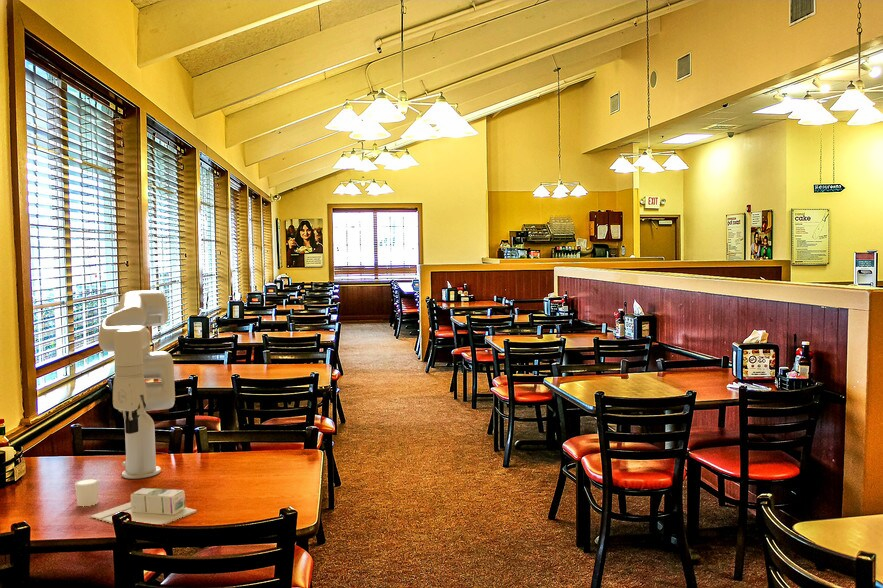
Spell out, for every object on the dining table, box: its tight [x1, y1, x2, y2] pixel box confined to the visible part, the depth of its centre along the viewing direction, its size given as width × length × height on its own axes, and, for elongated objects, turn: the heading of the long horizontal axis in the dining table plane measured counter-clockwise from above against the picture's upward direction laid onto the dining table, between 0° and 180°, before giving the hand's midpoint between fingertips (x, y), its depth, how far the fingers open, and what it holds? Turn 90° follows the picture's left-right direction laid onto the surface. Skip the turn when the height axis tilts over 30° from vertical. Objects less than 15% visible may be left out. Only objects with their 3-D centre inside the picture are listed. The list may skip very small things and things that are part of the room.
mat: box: [90, 501, 197, 525], centre depth 210 cm, size 24×18×1 cm
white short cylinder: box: [74, 478, 100, 508], centre depth 220 cm, size 7×7×7 cm
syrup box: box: [130, 487, 186, 515], centre depth 211 cm, size 6×6×14 cm
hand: (132, 432), depth 211 cm, fingers closed
